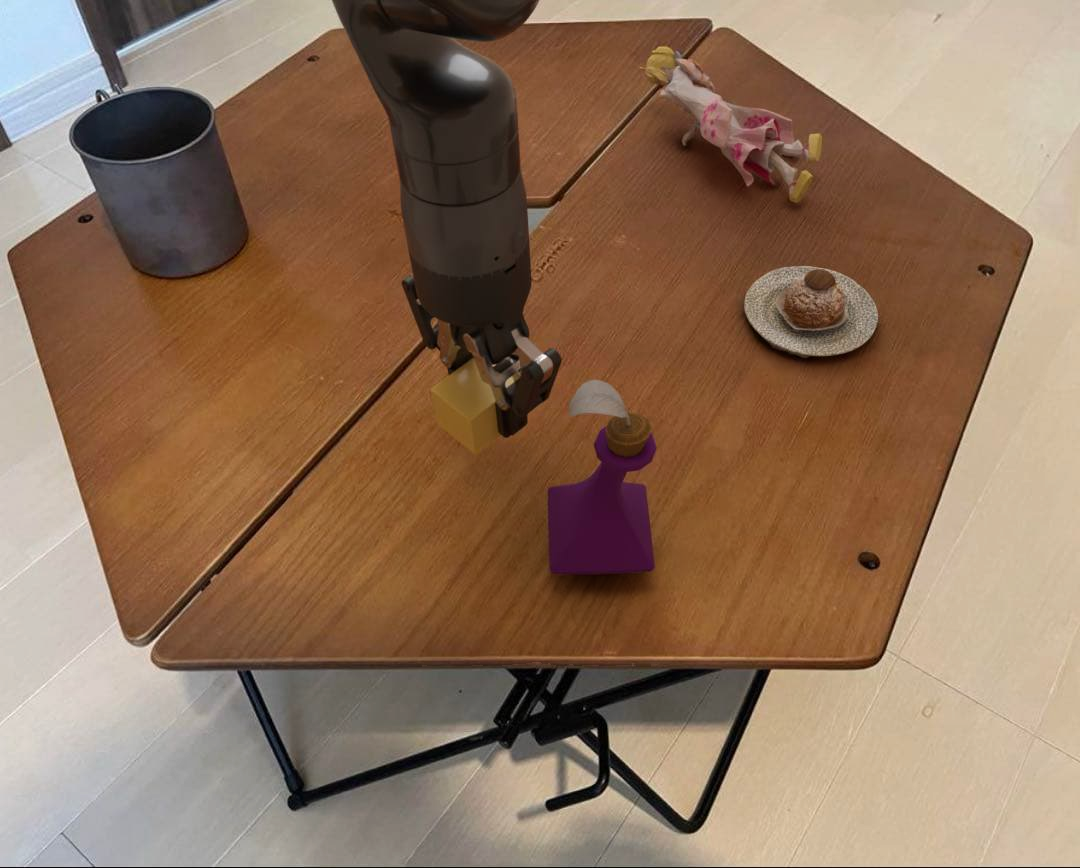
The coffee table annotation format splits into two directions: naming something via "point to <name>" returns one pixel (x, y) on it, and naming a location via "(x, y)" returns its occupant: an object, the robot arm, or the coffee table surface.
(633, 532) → the perfume bottle
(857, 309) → the pastry
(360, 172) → the coffee table surface
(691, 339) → the coffee table surface
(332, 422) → the coffee table surface
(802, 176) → the figurine
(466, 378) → the block
